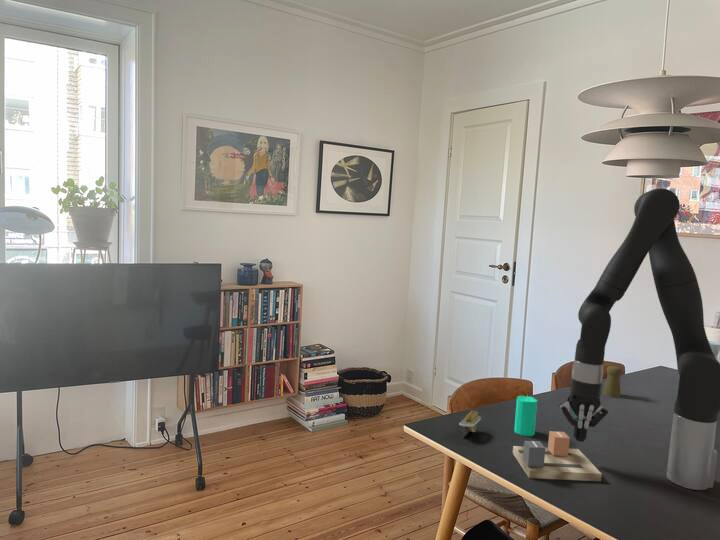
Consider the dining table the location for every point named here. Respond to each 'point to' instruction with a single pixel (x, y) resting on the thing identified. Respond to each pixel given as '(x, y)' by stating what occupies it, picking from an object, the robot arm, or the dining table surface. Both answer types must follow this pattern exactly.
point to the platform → (470, 423)
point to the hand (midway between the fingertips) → (579, 440)
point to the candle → (525, 415)
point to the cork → (613, 382)
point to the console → (560, 466)
